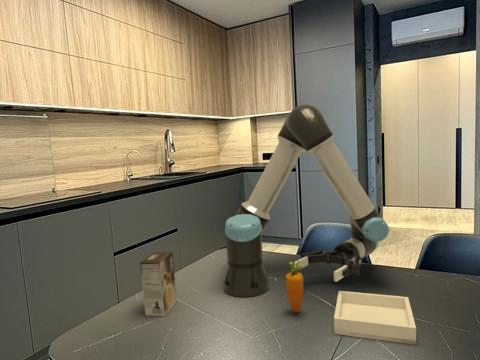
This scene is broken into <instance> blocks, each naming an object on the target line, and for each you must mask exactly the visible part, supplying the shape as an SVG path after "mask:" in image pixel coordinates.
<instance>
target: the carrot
mask: <svg viewBox="0 0 480 360" xmlns="http://www.w3.org/2000/svg"><path fill="white" fill-rule="evenodd" d="M296 261H297V260H296ZM288 264H289V267H290V272H288V273H287V274H285V279H286V280H285V283H286V284H285V285H286V290H287V291H286V293H287V297H288V301H289V302H288V303H289V305H290V307H291V310H292V311H293V312H294V313H295V314H297V313H298V312H299V311H300V309H301V306H302V303H303V298H304V297H303V296H304V276H303V274H302V272H299V271H300V270H301V269H303V268H304V267H303V266H302V265H300V266H298V265H299V261H297V263H296V267H295V268H294V262H293V261H290V262H289V263H288ZM302 267H303V268H302ZM300 268H301V269H300Z"/></svg>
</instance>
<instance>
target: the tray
mask: <svg viewBox="0 0 480 360" xmlns="http://www.w3.org/2000/svg"><path fill="white" fill-rule="evenodd" d="M333 332H334V333H333V334H334V335H340V336H341V335H342V336H349V337H357V338H365V339H372V340H377V341H378V340H379V341H385V342H394V343H400V344H401V343H402V344H409V345H415V346H417V326H416V323H415V319H414V314H413V311H412V307H411V303H410V300H409V296H398V295H389V294H388V295H387V294H379V293H366V292H365V293H364V292H355V291H346V290H345V291H344V290H338V293H337V299H336V305H335V310H334V317H333Z"/></svg>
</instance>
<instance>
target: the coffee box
mask: <svg viewBox="0 0 480 360" xmlns="http://www.w3.org/2000/svg"><path fill="white" fill-rule="evenodd" d="M173 253H174V252H172V251H170V252H169V251H162V252H160V251H159V252H153V253H151V254H149V255H148V256H147V257H146V258H144V259H143V260H141V261H140V263H139V264H140V265H139V266H140V273H141V274H140V276H141V285H142V296H143V305H144V307H143V308H144V315H145V316H147V317H148V316H150V317H153V316H154V317H166V315H167V314H168V313H169V312H170V311H171V309H172V308H173V307H174V306H175V305H176V303H177V302H178V301H177V300H178V299H177V289H176V277H175V265H174V254H173Z"/></svg>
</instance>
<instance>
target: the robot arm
mask: <svg viewBox="0 0 480 360" xmlns="http://www.w3.org/2000/svg"><path fill="white" fill-rule="evenodd" d="M334 136H335V135H334V134H333V132H332V131H331V129H330V127H329V125H328V123H327V121H326V120H325V118H324V116H323V114H322V112H321V111H320V110H319V109H318V108H317V107H315V106H313V105H311V104H301V105H297V106H296V107H294V108H293V109H292V110H291V111H290V112H289V113H288V114H287V116H286V118H285V121H284V123H283V125H282V127H281V129H280V130H279V133H278V134H277V139H278V143H277V146H276V147H275V149H274V151H273V153H272V155H271V157H270V158H269V161H268V163H267V164H266V166H265V167H264V170H263V172H262V173H261V176H260V177H259V179H258V181H257V183H256V185H255V187H254V189H253V190H252V192H251V194H250V196H249V198H248V200H246V201H244V202H241V204H240V207H239V208H238V209H237V212H236V213H235V215H233V216H230V217H229V218H227V220H226V221H225V226H224V227H225V228H224V233H225V242H226V243H225V245H226V257H227V258H226V259H227V267H226V271H225V275H224V279H223V291H224V292H225V293H226V294H228V295H229V296H232V297H237V298H238V297H239V298H249V297H250V298H251V297H255V296H260V295H262V294H264V293H266V292H267V291H268V290H269V289H270V279H269V277H268V273H267V272H266V268H265V266H264V260H263V257H264V256H263V241H262V240H263V239H262V238H263V232H264V231H265V229H266V227H267V225H268V223H269V222H270V220H271V216H270V210H271V209H272V207H273V205H274V203H275V202H276V200H277V198H278V196H279V194H280V192H281V190H282V189H283V187H284V185H285V183H286V182H287V180H288V178H289V176H290V174H291V172H292V170H293V168H294V166H295V165H296V163H297V161H298V159H299V157H300V155H301V154H302V153H306V152H307V153H309V154H311V155H312V156H313V158H314V160H315V161H316V163H317V165H318V166H319V167H320V169H321V171H322V172H323V174H324V175H325V177H326V178H327V180H328V181H329V183H330V185H331V186H332V188H333V190H334V191H335V193H336V194H337V196H338V198H339V199H340V200H341V202H342V204H343V205H344V207H345V208H346V210H347V211H348V213H349V216H350V218H349V219H350V239H348V240H345V241H343V242H341V243H339V244H337V245H336V246H335V247H334V249H333V250H332V251H327V250H326V248H325V249H324V248H323V249H320V250H315V251H310V252H305V253H300V258H299V259H298V260H296V261H294V262H293V266H294V268H295V267H296V263H297V261H299V265H298V266H300V265H302V266H303V267H302V268H300V269H299V270H301V269H303V268H305V267H308V266H309V264H319V263H325V264H337V265H341V266H342V267H340V268H338V269H336V270H334V271H333V281H334V282H335V283H336V282H338V281H340V280H341V279H343V278H344V277H345V278H346V277H348V276H351V275H353V274H355V275H354V276H357V277H358V276H360V275H361V274H360V267H361V266H362V259H364V258H365V257H367V256H369V255H371V254H373V252H374V251H375V250H377V248H378V245H379V242H382V241H384V240H385V239H386V238H387V237H388V235H389V231H390V228H389V225H388V223H387V222H386V220H385V219H384V218H382V217H381V215H380V214H379V212H378V211H377V209H376V208H375V205H374V204H373V203H372V201H371V199H370V198H369V196H368V195H367V193H366V191H365V190H364V188H363V186H362V185H361V184H360V181H359V179H357V177H356V175H355V173H354V172H353V171H352V169H351V167H350V166H349V164H348V163H347V162H348V161H346V159H345V157H344V156H343V155H342V153H341V151H340V150H339V148H338V146H337V145H336V143H335V142H334V140H333V139H334ZM353 264H354V266H353Z"/></svg>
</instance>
